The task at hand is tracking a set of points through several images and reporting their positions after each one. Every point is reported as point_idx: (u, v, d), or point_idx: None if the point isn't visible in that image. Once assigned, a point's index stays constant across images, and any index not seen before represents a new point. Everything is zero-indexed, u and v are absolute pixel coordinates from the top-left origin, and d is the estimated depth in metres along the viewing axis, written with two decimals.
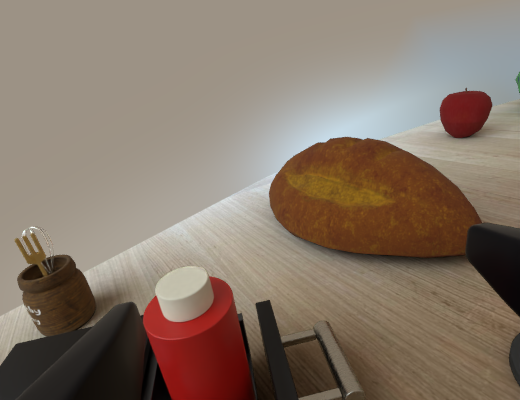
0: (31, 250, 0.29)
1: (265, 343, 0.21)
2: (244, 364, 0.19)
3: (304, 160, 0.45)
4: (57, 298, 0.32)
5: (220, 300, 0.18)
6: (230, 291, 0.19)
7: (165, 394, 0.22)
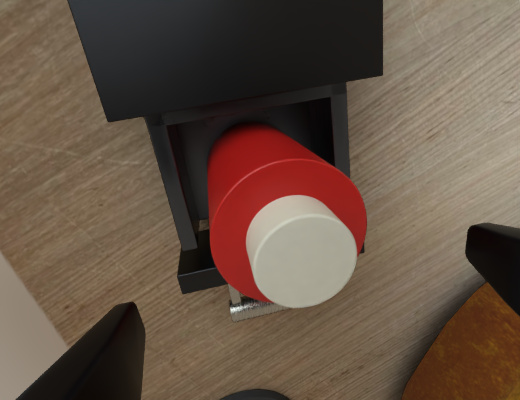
0: None
1: None
2: None
3: None
4: None
5: None
6: None
7: None
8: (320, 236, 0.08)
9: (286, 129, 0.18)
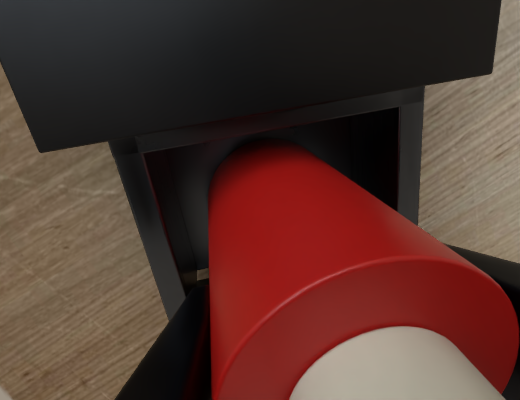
0: None
1: None
2: None
3: None
4: None
5: None
6: None
7: None
8: None
9: (318, 149, 0.13)
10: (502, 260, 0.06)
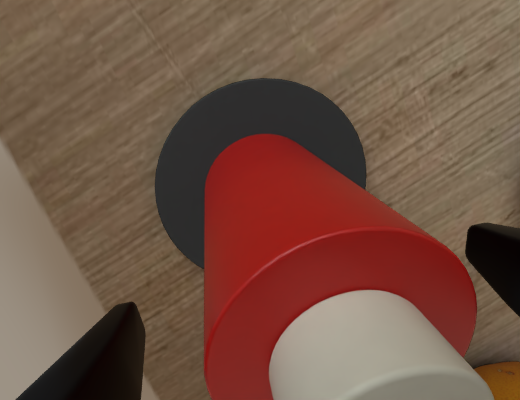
0: None
1: None
2: None
3: None
4: None
5: None
6: None
7: None
8: None
9: None
10: None
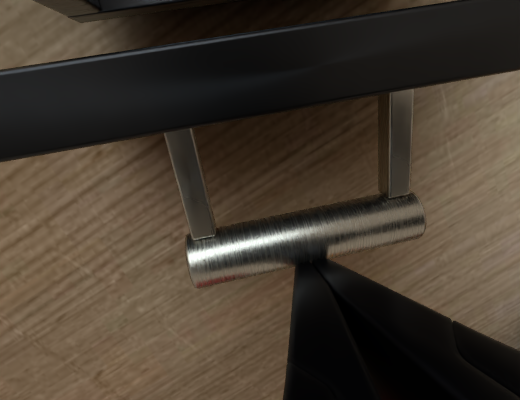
0: None
1: (370, 19, 0.05)
2: None
3: None
4: None
5: None
6: None
7: None
8: None
9: None
10: (384, 288, 0.06)
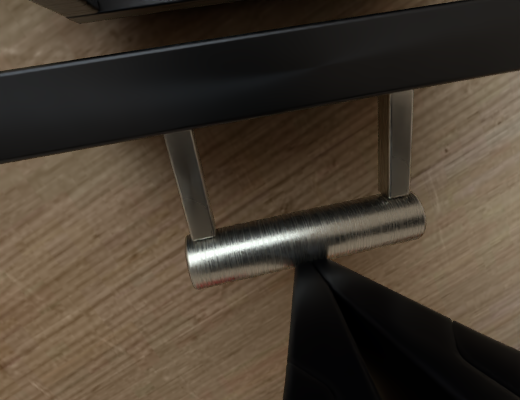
0: None
1: (370, 20, 0.05)
2: None
3: None
4: None
5: None
6: None
7: None
8: None
9: None
10: (383, 288, 0.06)
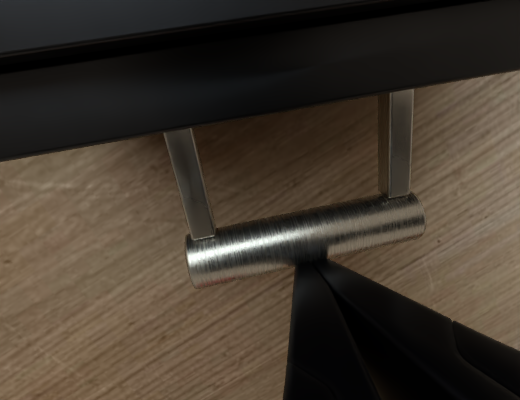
0: None
1: (371, 19, 0.05)
2: None
3: None
4: None
5: None
6: None
7: None
8: None
9: None
10: (383, 288, 0.06)
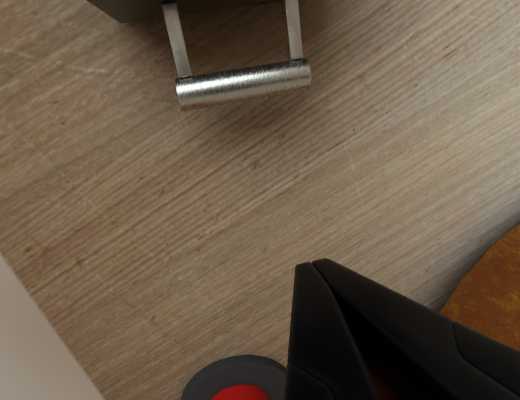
0: None
1: None
2: None
3: None
4: None
5: None
6: None
7: None
8: None
9: None
10: (384, 288, 0.06)
